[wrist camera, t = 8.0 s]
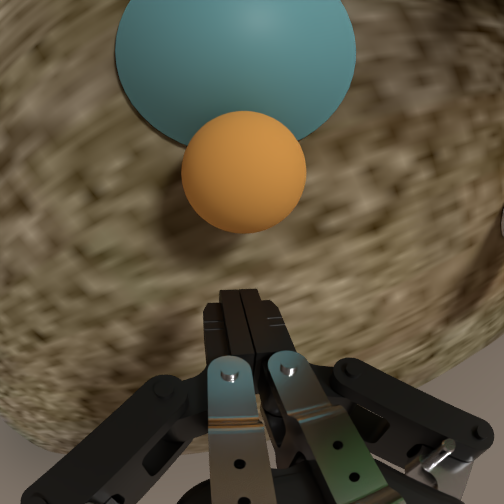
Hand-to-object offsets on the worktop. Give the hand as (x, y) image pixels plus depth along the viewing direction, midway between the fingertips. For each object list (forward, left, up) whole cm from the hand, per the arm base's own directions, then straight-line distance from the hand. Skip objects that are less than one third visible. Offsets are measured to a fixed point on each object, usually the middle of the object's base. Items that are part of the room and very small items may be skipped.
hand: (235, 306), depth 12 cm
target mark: (-2, +12, -6) cm, 13 cm away
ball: (0, +5, -3) cm, 6 cm away
